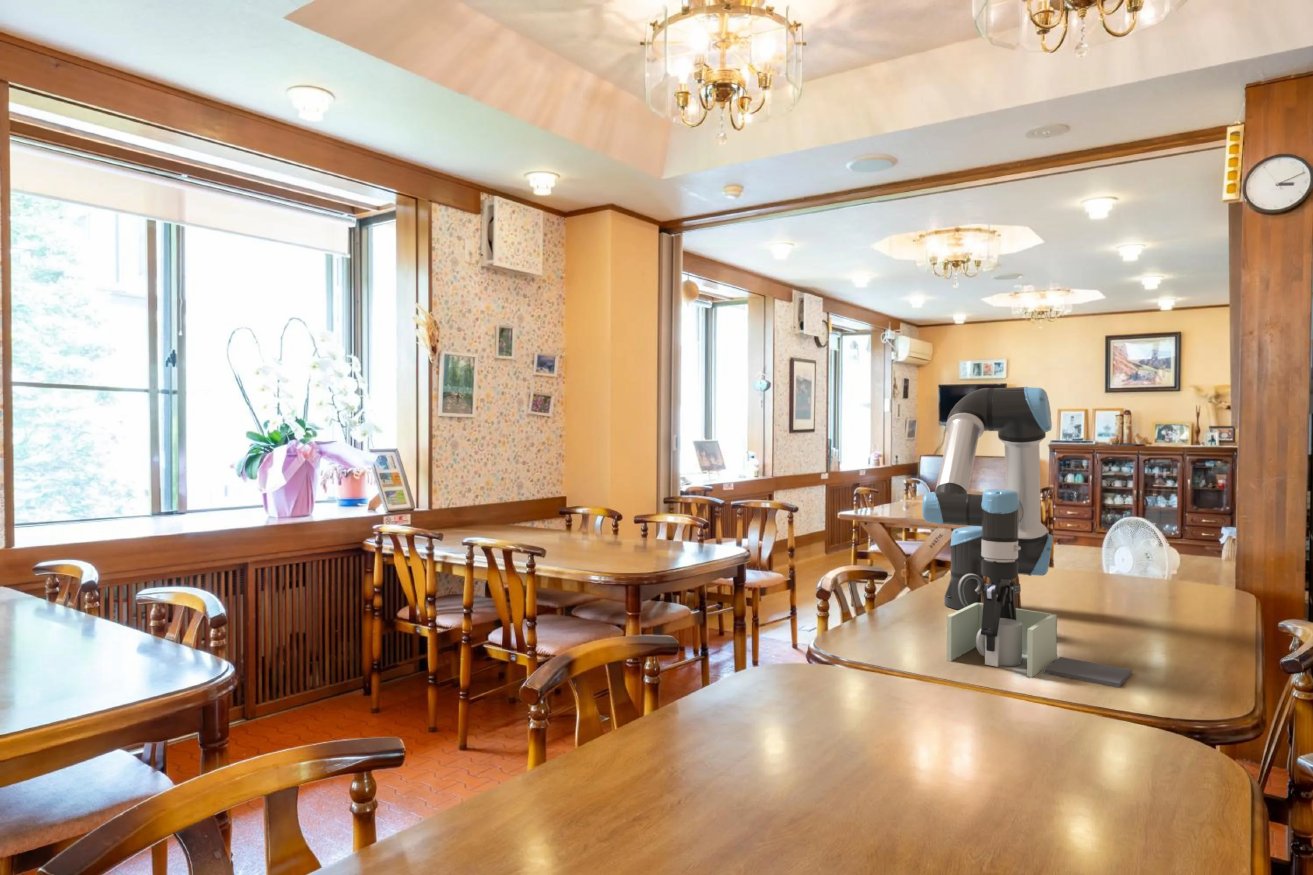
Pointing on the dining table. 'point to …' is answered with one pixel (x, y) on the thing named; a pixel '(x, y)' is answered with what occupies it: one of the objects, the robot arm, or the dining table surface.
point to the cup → (1006, 642)
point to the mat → (1088, 671)
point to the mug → (984, 584)
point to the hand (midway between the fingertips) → (999, 660)
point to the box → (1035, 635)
